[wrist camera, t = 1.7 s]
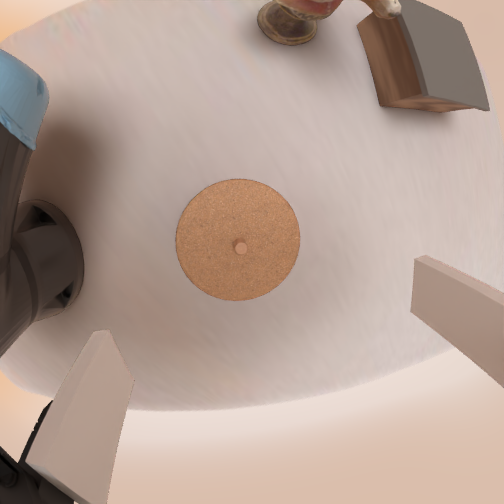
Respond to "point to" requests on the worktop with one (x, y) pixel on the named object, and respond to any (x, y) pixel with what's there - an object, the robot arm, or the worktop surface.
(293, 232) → the lidded jar
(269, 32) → the decorative bust
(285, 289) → the worktop surface
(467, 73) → the block
